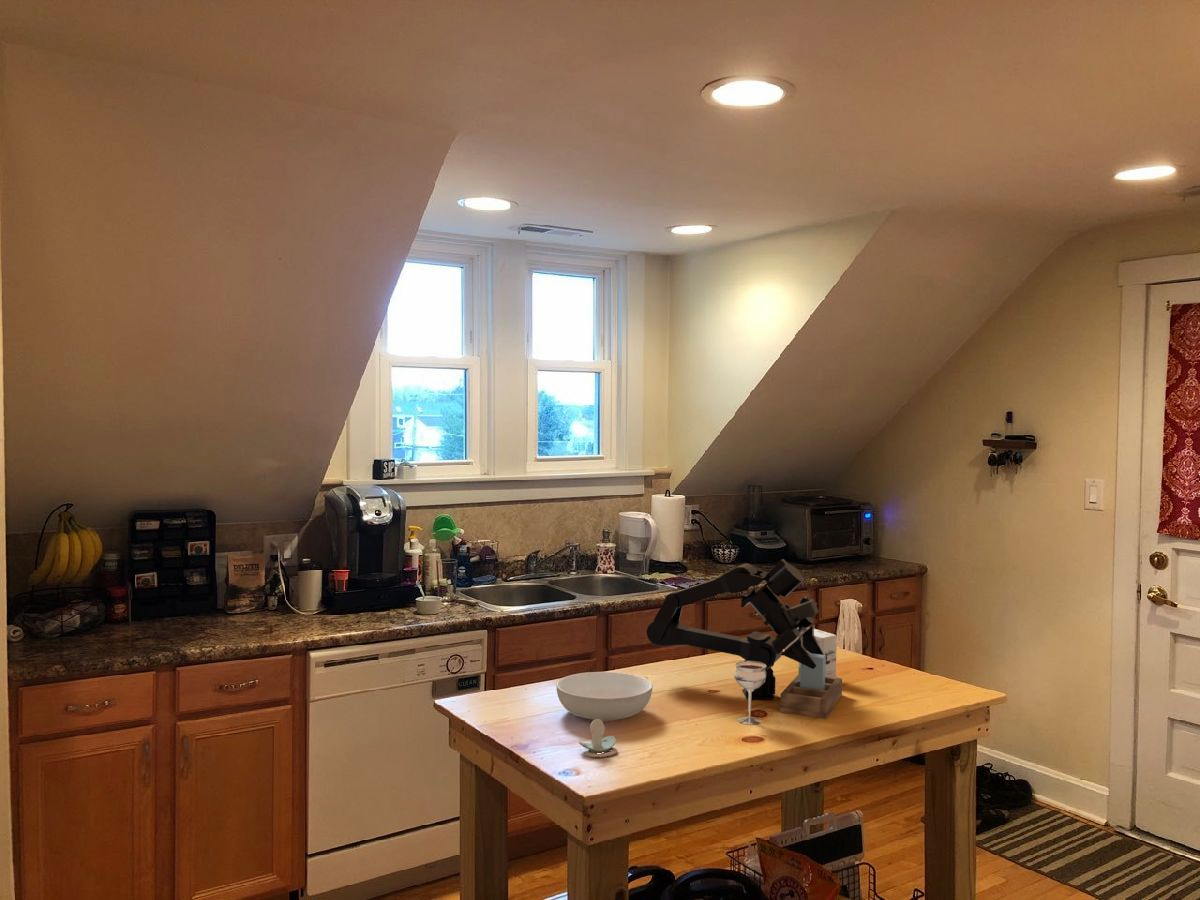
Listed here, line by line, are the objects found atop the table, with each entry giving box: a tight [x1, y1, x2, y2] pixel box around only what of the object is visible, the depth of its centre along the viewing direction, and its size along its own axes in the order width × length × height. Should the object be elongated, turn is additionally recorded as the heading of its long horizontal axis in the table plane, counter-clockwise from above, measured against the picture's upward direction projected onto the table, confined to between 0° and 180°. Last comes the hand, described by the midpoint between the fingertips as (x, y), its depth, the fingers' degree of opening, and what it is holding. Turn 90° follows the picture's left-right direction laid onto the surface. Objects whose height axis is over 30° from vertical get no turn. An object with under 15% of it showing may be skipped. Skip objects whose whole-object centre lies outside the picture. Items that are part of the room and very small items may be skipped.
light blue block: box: [800, 653, 826, 690], centre depth 210 cm, size 5×3×10 cm, turn 65°
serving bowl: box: [555, 671, 654, 722], centre depth 200 cm, size 21×21×7 cm
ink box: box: [797, 628, 838, 678], centre depth 230 cm, size 8×5×12 cm, turn 32°
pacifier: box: [578, 719, 618, 758], centre depth 178 cm, size 7×6×6 cm
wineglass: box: [733, 660, 766, 726], centre depth 198 cm, size 7×7×12 cm
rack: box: [779, 673, 843, 719], centre depth 210 cm, size 10×19×4 cm, turn 155°
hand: (819, 662), depth 210 cm, fingers open, 9 cm apart
